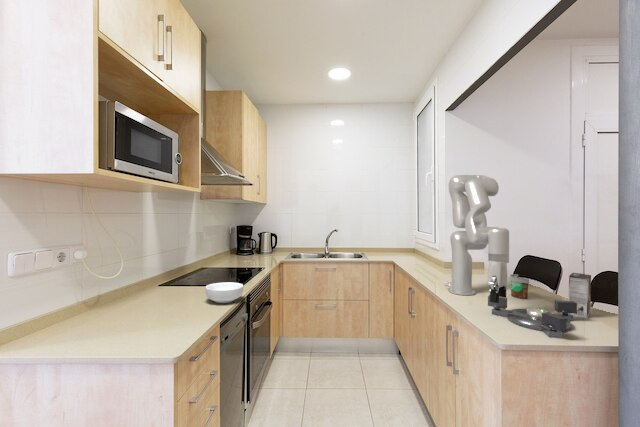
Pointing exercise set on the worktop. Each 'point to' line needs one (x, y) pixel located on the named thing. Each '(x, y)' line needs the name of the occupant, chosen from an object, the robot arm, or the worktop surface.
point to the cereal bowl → (224, 291)
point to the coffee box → (580, 293)
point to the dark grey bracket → (501, 304)
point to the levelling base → (532, 322)
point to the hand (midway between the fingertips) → (498, 300)
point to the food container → (519, 286)
